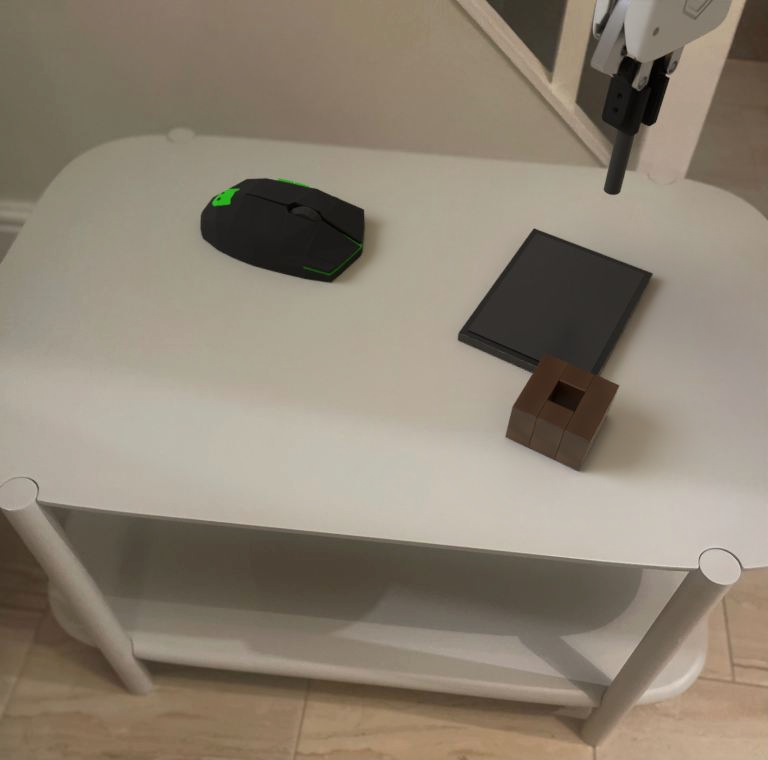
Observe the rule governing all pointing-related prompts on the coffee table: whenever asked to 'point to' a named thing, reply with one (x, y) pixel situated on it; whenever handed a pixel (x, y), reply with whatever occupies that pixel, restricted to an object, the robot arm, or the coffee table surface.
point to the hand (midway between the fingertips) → (628, 121)
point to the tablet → (556, 305)
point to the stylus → (619, 161)
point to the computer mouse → (285, 228)
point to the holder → (561, 411)
